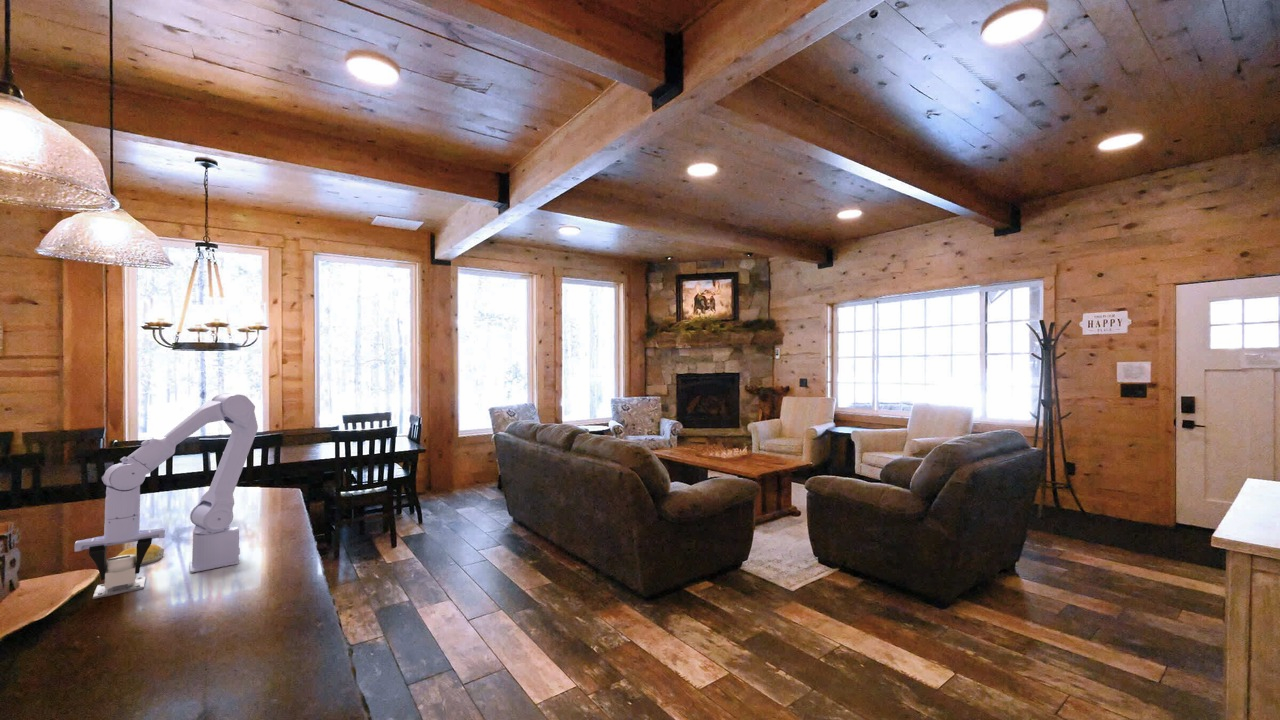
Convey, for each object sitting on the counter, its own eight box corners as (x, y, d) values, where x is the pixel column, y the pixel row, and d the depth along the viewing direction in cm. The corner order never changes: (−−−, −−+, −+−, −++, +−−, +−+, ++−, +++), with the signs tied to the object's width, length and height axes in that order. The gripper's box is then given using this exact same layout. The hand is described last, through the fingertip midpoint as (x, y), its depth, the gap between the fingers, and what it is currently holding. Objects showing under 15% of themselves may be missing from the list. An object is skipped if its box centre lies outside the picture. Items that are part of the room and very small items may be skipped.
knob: (136, 577, 121) (136, 551, 121) (134, 582, 117) (135, 556, 117) (106, 582, 118) (107, 556, 118) (104, 588, 114) (105, 562, 114)
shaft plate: (145, 578, 123) (146, 564, 123) (143, 588, 117) (144, 574, 117) (97, 587, 118) (97, 573, 118) (92, 599, 112) (93, 583, 112)
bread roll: (121, 560, 135) (121, 544, 135) (166, 554, 140) (166, 539, 140) (109, 570, 128) (109, 554, 128) (157, 564, 132) (157, 548, 133)
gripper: (165, 506, 125) (164, 562, 125) (78, 518, 116) (76, 578, 115) (165, 513, 120) (163, 571, 120) (73, 525, 110) (71, 588, 110)
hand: (120, 575), depth 117 cm, fingers closed on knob, 5 cm apart
